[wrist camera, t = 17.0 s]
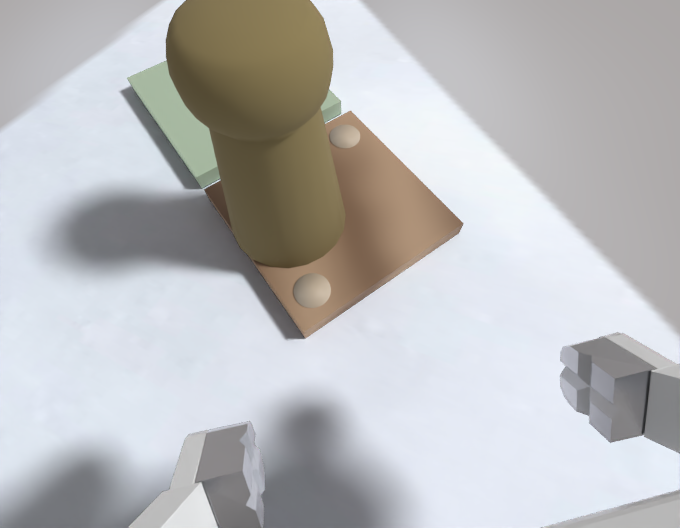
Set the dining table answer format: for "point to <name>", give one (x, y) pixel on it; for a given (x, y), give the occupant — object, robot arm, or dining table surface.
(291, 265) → the cork
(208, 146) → the tile one
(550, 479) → the dining table surface
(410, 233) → the tile two
